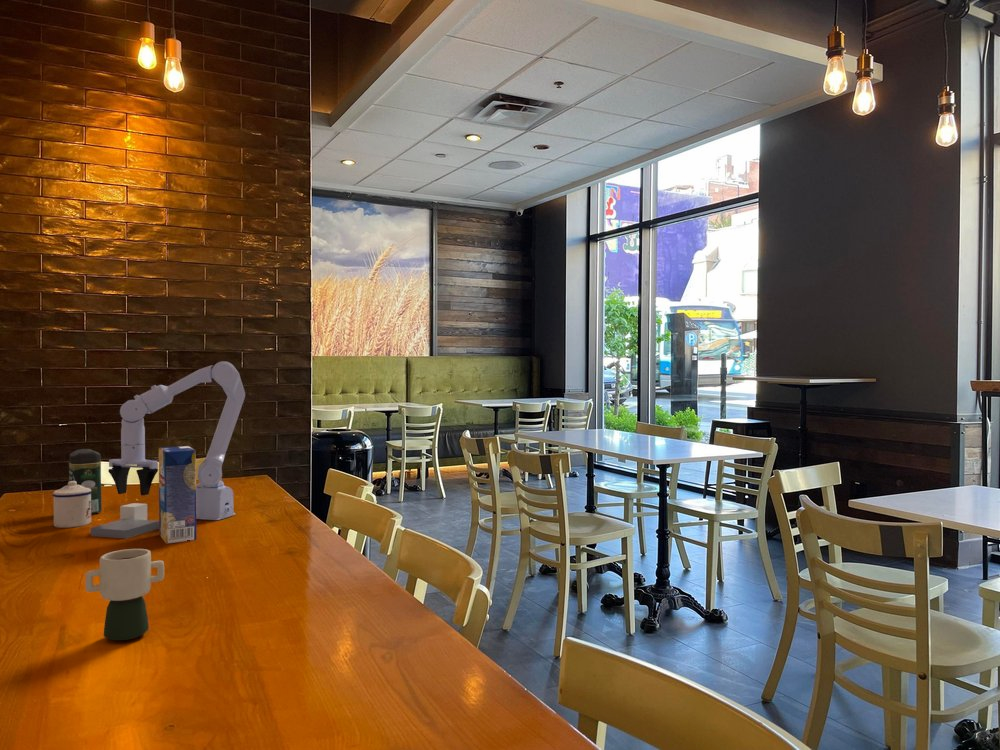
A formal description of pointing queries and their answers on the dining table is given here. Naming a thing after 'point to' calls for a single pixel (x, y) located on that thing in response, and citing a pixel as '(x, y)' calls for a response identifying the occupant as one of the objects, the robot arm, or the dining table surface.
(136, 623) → the character mug
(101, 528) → the slate block
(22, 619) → the dining table surface
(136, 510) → the cream cube
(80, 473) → the coffee jar
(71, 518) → the teacup with lid
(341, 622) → the dining table surface
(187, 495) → the beverage box
